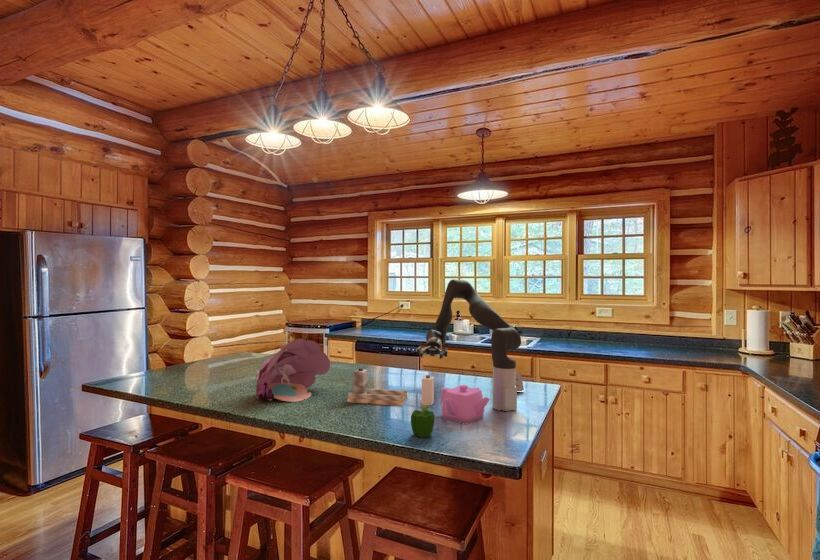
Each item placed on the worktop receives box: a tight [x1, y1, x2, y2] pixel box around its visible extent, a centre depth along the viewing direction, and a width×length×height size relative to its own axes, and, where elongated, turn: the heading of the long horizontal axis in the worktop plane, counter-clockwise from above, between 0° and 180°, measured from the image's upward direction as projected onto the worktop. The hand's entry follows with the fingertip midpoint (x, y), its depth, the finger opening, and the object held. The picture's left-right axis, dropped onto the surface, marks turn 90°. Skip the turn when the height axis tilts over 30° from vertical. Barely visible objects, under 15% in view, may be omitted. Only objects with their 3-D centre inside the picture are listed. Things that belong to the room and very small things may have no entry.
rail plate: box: [346, 367, 408, 407], centre depth 188 cm, size 24×12×14 cm, turn 80°
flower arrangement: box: [255, 338, 331, 403], centre depth 193 cm, size 35×24×28 cm
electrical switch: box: [516, 371, 525, 391], centre depth 205 cm, size 9×5×9 cm, turn 116°
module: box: [421, 374, 435, 406], centre depth 184 cm, size 4×6×12 cm
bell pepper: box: [410, 405, 436, 438], centre depth 146 cm, size 8×8×10 cm
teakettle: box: [440, 384, 490, 425], centre depth 166 cm, size 17×17×12 cm
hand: (431, 356), depth 194 cm, fingers open, 8 cm apart
